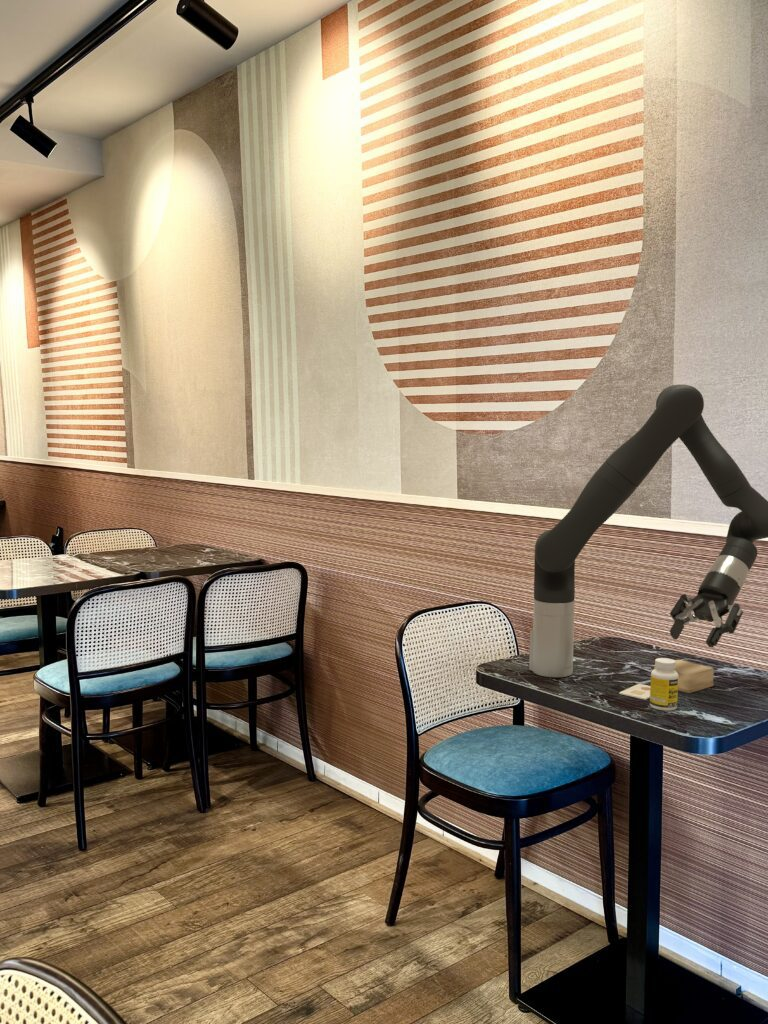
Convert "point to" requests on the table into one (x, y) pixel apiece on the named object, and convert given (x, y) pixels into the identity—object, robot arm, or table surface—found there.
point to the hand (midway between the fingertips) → (690, 641)
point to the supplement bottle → (664, 685)
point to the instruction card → (637, 691)
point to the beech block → (693, 676)
